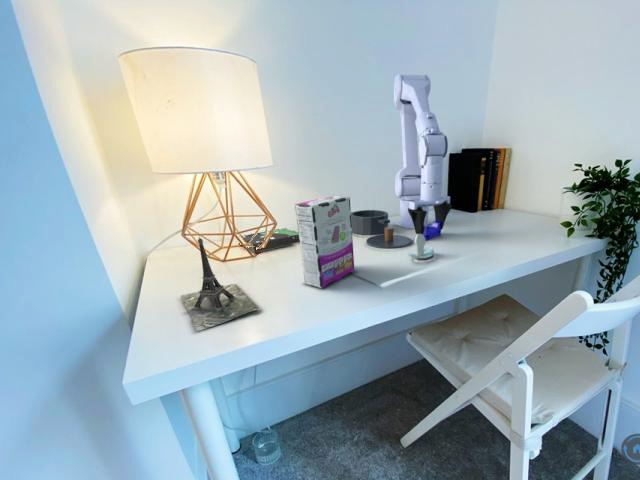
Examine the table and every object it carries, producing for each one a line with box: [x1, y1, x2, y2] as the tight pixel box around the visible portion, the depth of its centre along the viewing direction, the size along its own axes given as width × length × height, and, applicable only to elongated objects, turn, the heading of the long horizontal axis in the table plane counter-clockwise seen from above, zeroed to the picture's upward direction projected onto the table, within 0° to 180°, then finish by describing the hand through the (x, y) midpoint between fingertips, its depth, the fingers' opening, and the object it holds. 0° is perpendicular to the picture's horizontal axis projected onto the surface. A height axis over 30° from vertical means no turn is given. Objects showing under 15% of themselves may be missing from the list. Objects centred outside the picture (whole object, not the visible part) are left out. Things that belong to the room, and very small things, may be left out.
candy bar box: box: [294, 195, 355, 289], centre depth 69 cm, size 11×5×16 cm, turn 148°
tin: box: [351, 209, 391, 236], centre depth 106 cm, size 12×17×6 cm
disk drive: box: [237, 227, 300, 253], centre depth 95 cm, size 10×3×15 cm
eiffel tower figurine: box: [180, 232, 260, 332], centre depth 58 cm, size 15×10×13 cm
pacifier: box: [406, 234, 438, 264], centre depth 81 cm, size 7×6×6 cm
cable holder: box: [422, 220, 442, 242], centre depth 98 cm, size 8×4×4 cm, turn 139°
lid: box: [365, 226, 413, 250], centre depth 94 cm, size 13×13×5 cm
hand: (429, 231), depth 99 cm, fingers closed on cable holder, 7 cm apart
